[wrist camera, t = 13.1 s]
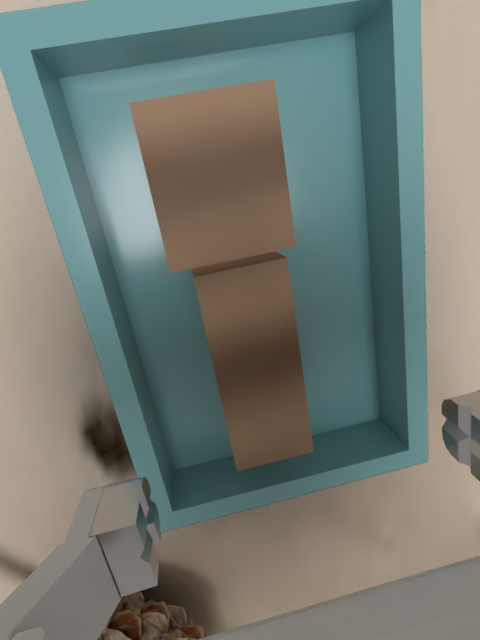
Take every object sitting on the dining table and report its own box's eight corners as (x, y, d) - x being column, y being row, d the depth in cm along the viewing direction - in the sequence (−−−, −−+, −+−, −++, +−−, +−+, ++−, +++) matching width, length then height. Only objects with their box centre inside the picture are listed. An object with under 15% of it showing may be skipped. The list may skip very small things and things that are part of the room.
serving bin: (392, 424, 26) (428, 461, 23) (160, 483, 25) (156, 533, 21) (370, 3, 18) (419, -47, 15) (26, 56, 17) (-18, 15, 13)
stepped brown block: (302, 398, 24) (332, 446, 19) (209, 420, 23) (217, 476, 19) (259, 97, 18) (287, 61, 14) (137, 118, 18) (121, 88, 13)
